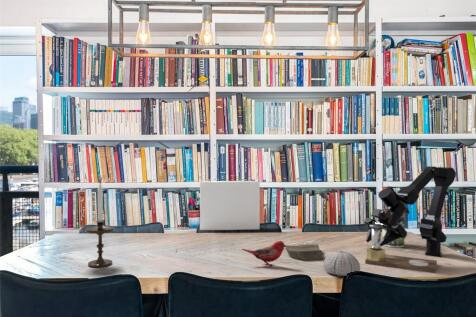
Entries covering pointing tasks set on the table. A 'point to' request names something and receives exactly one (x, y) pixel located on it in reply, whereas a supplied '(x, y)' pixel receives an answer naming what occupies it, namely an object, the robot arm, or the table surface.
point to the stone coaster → (417, 263)
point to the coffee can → (397, 242)
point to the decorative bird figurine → (269, 252)
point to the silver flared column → (376, 236)
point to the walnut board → (404, 263)
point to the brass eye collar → (376, 254)
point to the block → (229, 205)
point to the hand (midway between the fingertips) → (373, 243)
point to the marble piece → (305, 252)
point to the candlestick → (100, 233)
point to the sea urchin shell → (341, 263)
